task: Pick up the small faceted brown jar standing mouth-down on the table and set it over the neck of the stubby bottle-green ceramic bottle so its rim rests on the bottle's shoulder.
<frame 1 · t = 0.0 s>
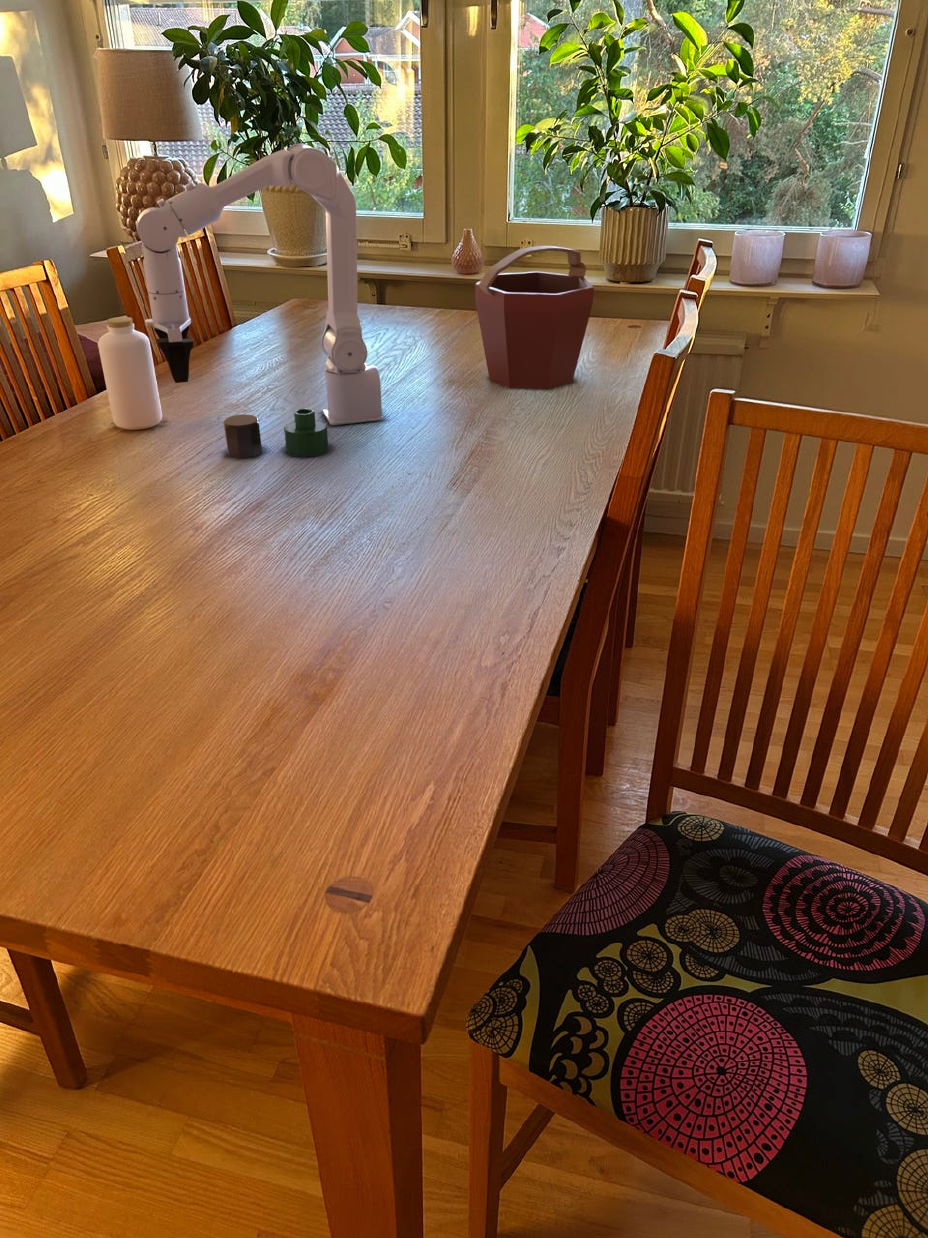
hand: (179, 375, 154), 10 cm above the table, tool pointing down, fingers open, 7 cm apart
bottle: (307, 449, 153), on the table
potion bottle: (139, 424, 164), on the table
bucket: (533, 379, 188), on the table
faceted brown jar: (244, 452, 152), on the table
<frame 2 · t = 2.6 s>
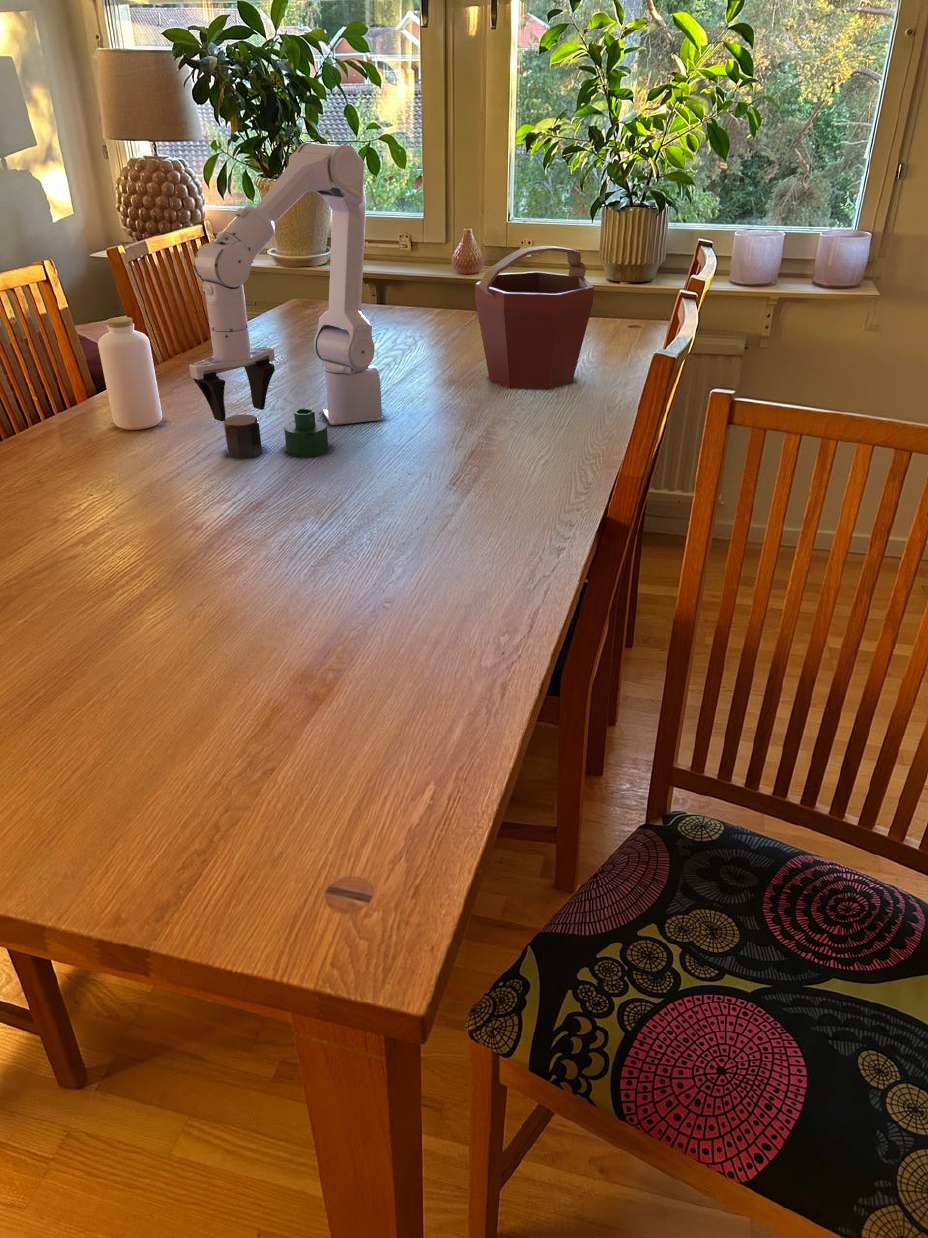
hand: (239, 413, 148), 6 cm above the table, tool pointing down, fingers open, 7 cm apart
nothing on the table moved.
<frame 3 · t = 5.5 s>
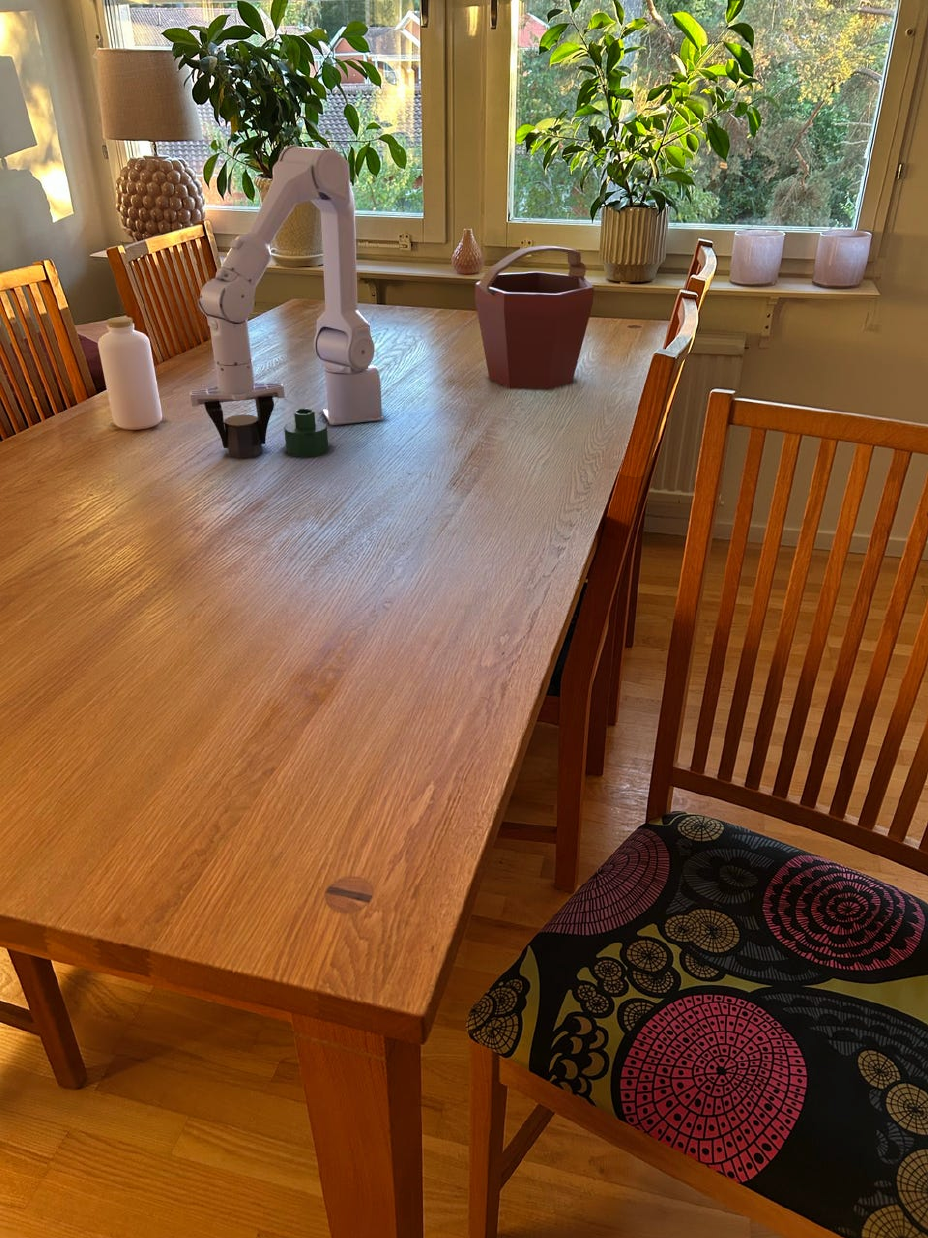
hand: (243, 444, 151), 1 cm above the table, tool pointing down, fingers closed on faceted brown jar, 5 cm apart
faceted brown jar: (245, 452, 152), on the table, touching gripper
everything else where it was.
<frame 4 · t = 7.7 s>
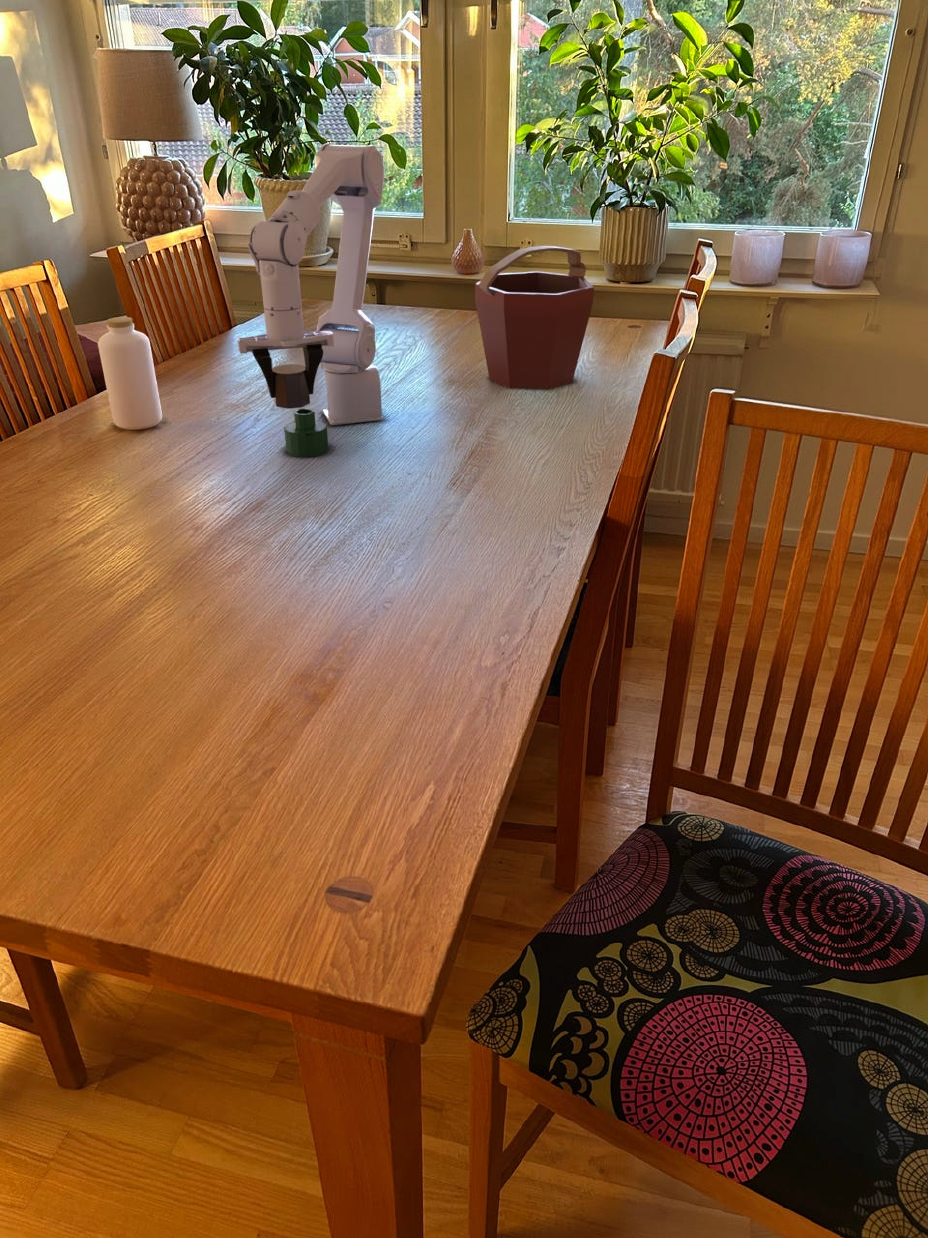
hand: (291, 394, 148), 9 cm above the table, tool pointing down, fingers closed on faceted brown jar, 5 cm apart
faceted brown jar: (292, 402, 149), point 8 cm above the table, touching gripper
everything else where it was.
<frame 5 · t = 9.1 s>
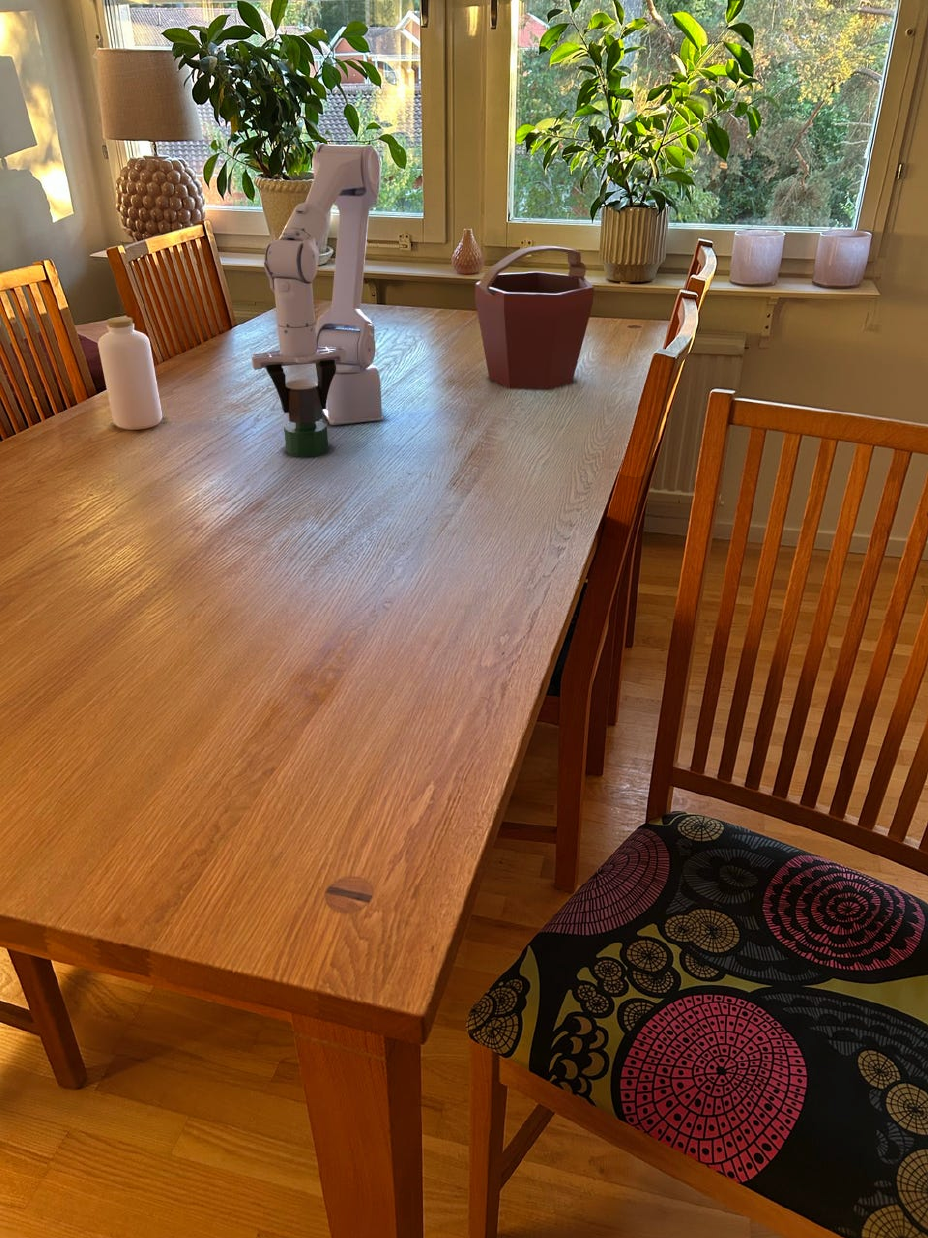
hand: (304, 409, 149), 7 cm above the table, tool pointing down, fingers closed on faceted brown jar, 5 cm apart
faceted brown jar: (305, 417, 150), point 5 cm above the table, touching gripper
everything else where it was.
when the fingers open (5 cm above the table, at t = 10.2 s): faceted brown jar stays where it is, resting on bottle.
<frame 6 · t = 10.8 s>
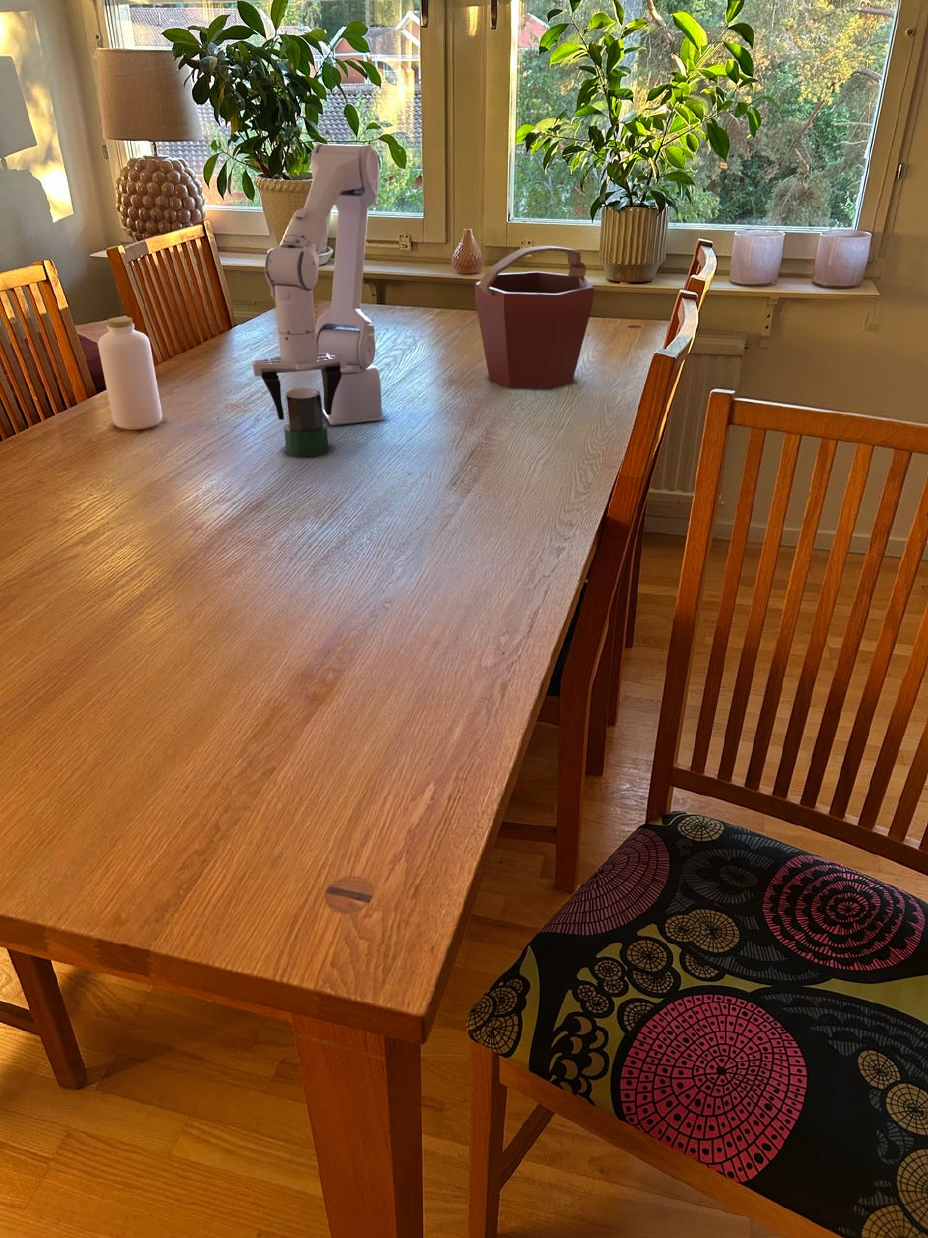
hand: (304, 415, 150), 6 cm above the table, tool pointing down, fingers open, 7 cm apart
bottle: (307, 449, 153), on the table, touching faceted brown jar
faceted brown jar: (305, 426, 151), point 4 cm above the table, touching bottle
everything else where it was.
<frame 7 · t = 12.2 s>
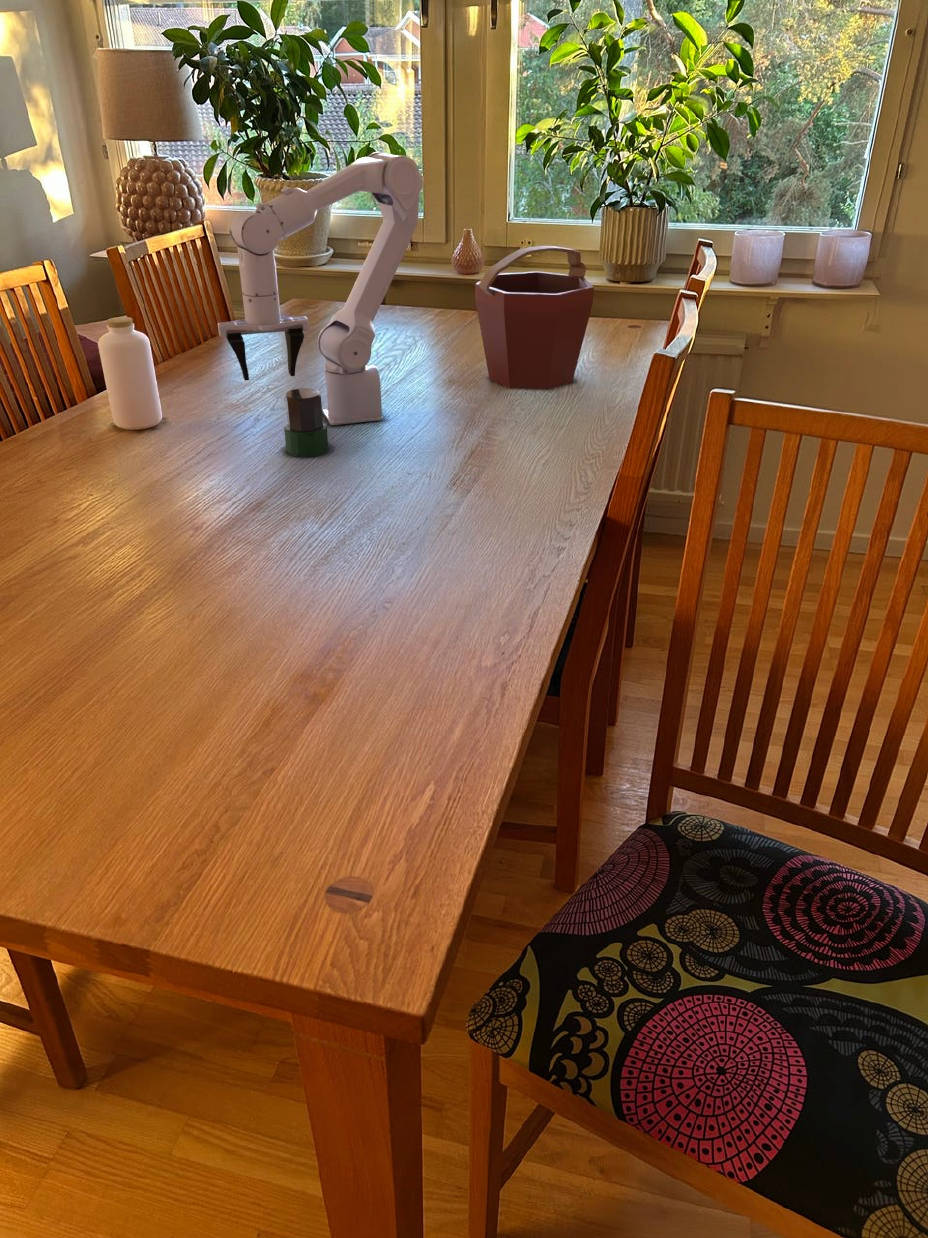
hand: (269, 376, 156), 9 cm above the table, tool pointing down, fingers open, 7 cm apart
nothing on the table moved.
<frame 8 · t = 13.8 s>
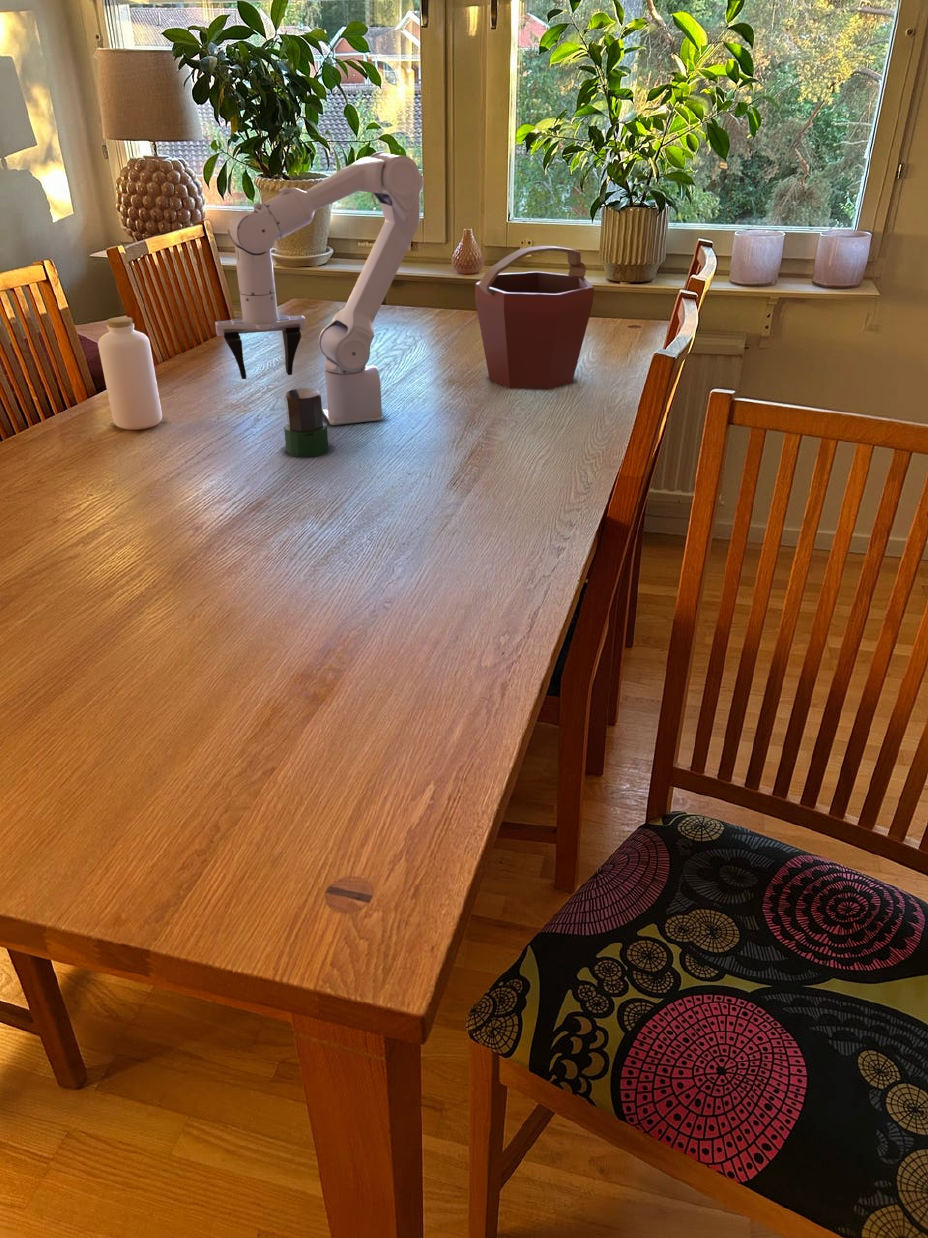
hand: (266, 375, 157), 9 cm above the table, tool pointing down, fingers open, 7 cm apart
nothing on the table moved.
at the end: faceted brown jar 0.0 cm off-centre in the bottle, point 4.0 cm above the bottle's base; faceted brown jar tilted 0°; bottle tilted 0° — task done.
